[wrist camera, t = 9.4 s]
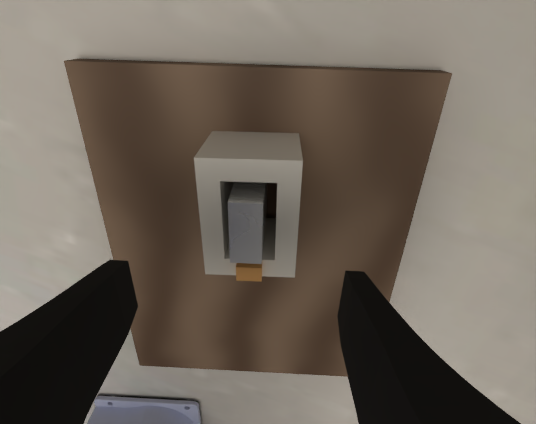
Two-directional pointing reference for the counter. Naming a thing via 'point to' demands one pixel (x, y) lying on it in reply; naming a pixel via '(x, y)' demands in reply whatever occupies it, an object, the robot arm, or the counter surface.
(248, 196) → the grey wood-grain block
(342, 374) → the mounting plate
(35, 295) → the counter surface
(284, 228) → the white frame
